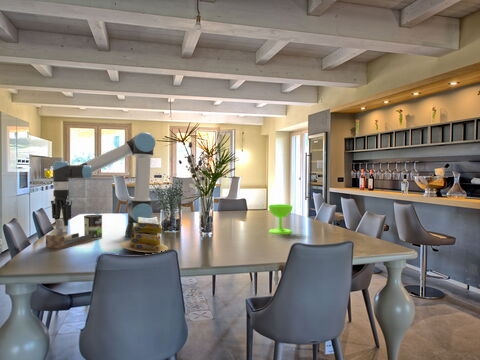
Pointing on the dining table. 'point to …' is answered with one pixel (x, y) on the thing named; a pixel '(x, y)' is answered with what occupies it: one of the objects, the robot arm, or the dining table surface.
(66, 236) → the press ram
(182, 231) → the dining table surface
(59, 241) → the press bed
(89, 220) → the coffee can
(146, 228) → the stacked food plate
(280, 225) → the wineglass
